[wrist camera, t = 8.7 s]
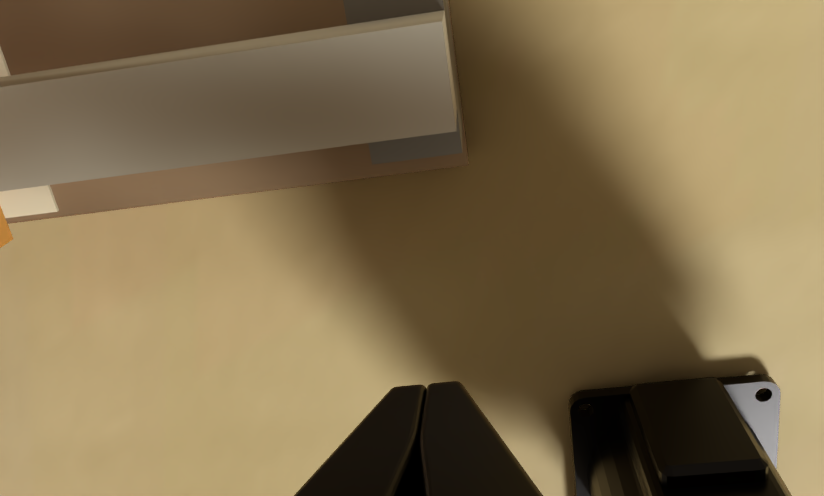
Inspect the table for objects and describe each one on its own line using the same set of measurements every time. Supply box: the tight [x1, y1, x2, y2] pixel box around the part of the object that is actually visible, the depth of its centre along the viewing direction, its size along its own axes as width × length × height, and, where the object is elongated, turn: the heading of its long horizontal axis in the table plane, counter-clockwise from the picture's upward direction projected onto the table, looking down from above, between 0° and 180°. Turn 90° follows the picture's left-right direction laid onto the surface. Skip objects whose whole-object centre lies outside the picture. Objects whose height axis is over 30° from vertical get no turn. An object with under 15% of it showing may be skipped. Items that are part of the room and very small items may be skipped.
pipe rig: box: [0, 0, 468, 224], centre depth 18 cm, size 7×19×7 cm, turn 99°
